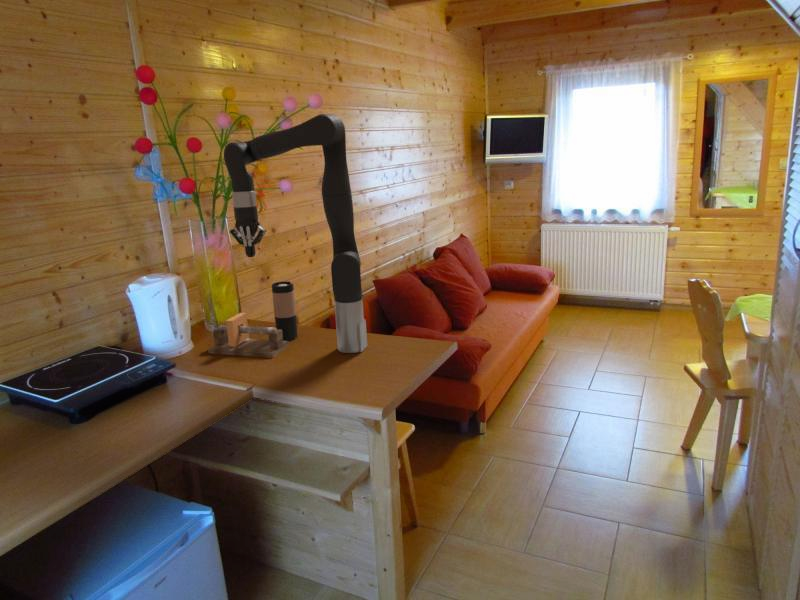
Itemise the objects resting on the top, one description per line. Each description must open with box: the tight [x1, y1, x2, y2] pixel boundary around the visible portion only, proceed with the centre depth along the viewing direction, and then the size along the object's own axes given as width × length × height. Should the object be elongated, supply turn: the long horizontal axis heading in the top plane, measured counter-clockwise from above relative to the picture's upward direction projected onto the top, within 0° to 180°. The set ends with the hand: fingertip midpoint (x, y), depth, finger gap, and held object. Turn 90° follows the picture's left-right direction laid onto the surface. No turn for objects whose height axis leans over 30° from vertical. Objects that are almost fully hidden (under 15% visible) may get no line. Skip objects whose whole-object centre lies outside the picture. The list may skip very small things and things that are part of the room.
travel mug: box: [271, 281, 298, 342], centre depth 200 cm, size 8×8×20 cm
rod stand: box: [207, 324, 290, 359], centre depth 192 cm, size 24×12×8 cm, turn 75°
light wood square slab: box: [225, 312, 250, 346], centre depth 192 cm, size 2×9×9 cm, turn 165°
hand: (250, 256), depth 190 cm, fingers closed
